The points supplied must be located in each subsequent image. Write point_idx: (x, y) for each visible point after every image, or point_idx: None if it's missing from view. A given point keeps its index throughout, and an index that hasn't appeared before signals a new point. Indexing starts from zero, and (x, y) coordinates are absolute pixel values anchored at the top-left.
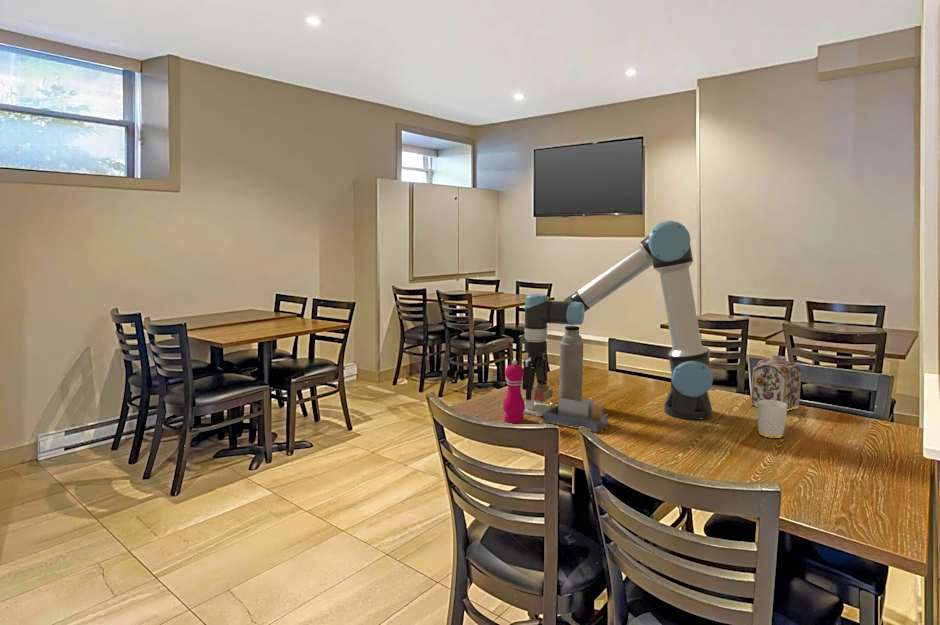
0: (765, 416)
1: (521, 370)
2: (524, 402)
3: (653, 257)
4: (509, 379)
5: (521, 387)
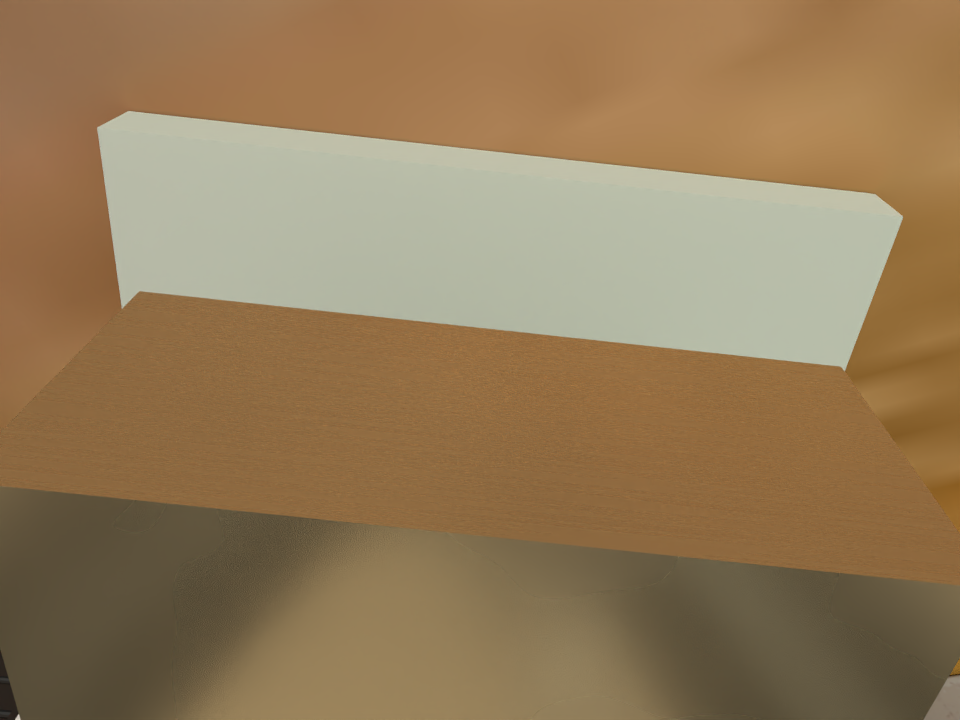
0: None
1: None
2: (714, 204)
3: None
4: None
5: (259, 583)
